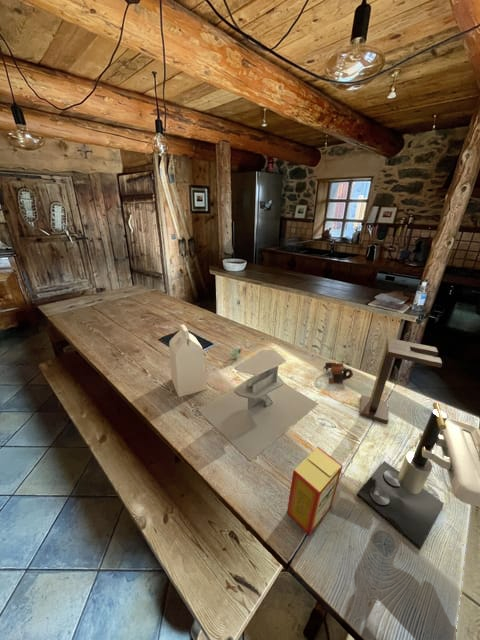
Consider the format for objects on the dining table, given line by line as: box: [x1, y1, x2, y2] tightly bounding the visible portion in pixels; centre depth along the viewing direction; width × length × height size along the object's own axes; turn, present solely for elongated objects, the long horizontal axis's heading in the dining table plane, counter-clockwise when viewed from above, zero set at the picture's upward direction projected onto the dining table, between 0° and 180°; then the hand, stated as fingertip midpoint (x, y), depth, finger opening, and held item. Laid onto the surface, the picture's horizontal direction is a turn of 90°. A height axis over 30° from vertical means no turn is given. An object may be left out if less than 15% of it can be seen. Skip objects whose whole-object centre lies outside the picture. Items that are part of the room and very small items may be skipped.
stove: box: [356, 460, 444, 550], centre depth 68 cm, size 15×15×1 cm
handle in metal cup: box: [397, 402, 448, 494], centre depth 60 cm, size 5×7×23 cm
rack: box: [359, 337, 443, 425], centre depth 90 cm, size 17×10×28 cm, turn 65°
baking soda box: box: [286, 446, 343, 536], centre depth 63 cm, size 10×6×16 cm
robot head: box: [229, 345, 242, 360], centre depth 125 cm, size 8×4×7 cm, turn 154°
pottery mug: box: [322, 362, 354, 385], centre depth 113 cm, size 12×10×8 cm
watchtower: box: [196, 349, 319, 462], centre depth 94 cm, size 36×28×20 cm
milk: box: [168, 323, 208, 398], centre depth 103 cm, size 12×12×26 cm
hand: (421, 444), depth 60 cm, fingers closed on handle in metal cup, 2 cm apart
